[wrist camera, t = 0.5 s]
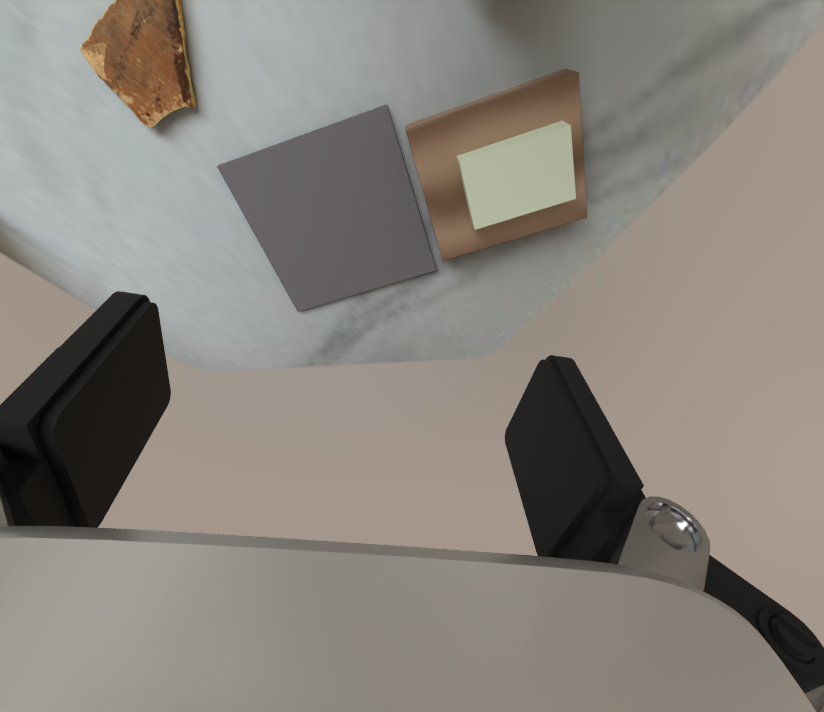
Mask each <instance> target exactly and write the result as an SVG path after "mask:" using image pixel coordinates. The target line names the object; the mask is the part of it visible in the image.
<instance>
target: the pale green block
mask: <svg viewBox="0 0 824 712" xmlns="http://www.w3.org/2000/svg"><path fill="white" fill-rule="evenodd" d="M456 157H457V161H458V166H459V170H460V174H461V179H462V183H463V188H464V192H465V196H466V201H467V205H468V209H469V214H470V218H471V222H472V225H473V227H474V229H475V230H476V229H479V228H483V227H486V226H489V225H492V224H496V223H499V222H502V221H505V220H509V219H512V218H515V217H518V216H522V215H525V214H528V213H531V212H535V211H538V210H541V209H544V208H548V207H551V206H554V205H557V204H561V203H564V202H567V201H570V200H573V199H576V191H575V177H574V163H573V150H572V136H571V125H569V124H568V123H566V122H564V121H563V120H562V121H560V122H557V123H554V124H551V125H548V126H545V127H542V128H539V129H536V130H533V131H530V132H527V133H524V134H521V135H518V136H515V137H512V138H509V139H506V140H503V141H500V142H497V143H494V144H491V145H488V146H485V147H482V148H479V149H476V150H473V151H470V152H467V153H464V154H461V155H458V156H456Z"/></svg>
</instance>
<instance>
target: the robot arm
mask: <svg viewBox="0 0 824 712" xmlns="http://www.w3.org/2000/svg"><path fill="white" fill-rule="evenodd" d="M170 394H171V391H170V383H169V378H168V371H167V365H166V358H165V351H164V345H163V338H162V332H161V325H160V319H159V312H158V307H157V305H156V304H155V303H151V302H150V301H149V298H148V297H147V296H146V295H140V294H133V293H127V292H120V291H118V292H115V293H114V294H112V295H111V296H110V297H109V298H108V299H107V300H106V301H105V302H104V303H103V304H102V305H101V306H100V307H99V308H98V309H97V310H96V311H95V312H94V313H93V314H92V315H91V317H89V318H88V319H87V321H85V323H83V325H81V326H80V327H79V328H78V329H77V330H76V331H75V332H74V334H72V335H71V336H70V337H69V338H68V339H67V340H66V341H65V342H64V343H63V344H62V346H60V347H59V348H57V349H56V350H55V351H54V352H53V353H52V354H51V355H50V356H49V357H48V358H47V359H46V360H45V361H44V362H43V363H42V364H41V365H40V366H39V367H38V368H37V369H36V370H35V371H34V372H33V373H32V374H31V375H30V376H29V377H28V378H27V379H26V380H25V381H24V382H23V383H22V384H21V385H20V386H19V387H18V388H17V389H16V390H15V391H14V392H13V393H12V394H11V395H10V396H9V397H8V398H7V399H6V400H5V401H4V402H3V403H2V404H1V405H0V712H824V647H823V646H822V645H821V643H820V642H819V640H818V639H817V638H816V636H815V635H814V634H813V633H812V631H810V629H809V628H808V627H807V626H806V625H805V624H804V623H803V622H802V621H800V619H798V618H797V617H796V616H795V615H793V614H792V613H791V612H790V611H788V610H786V609H785V608H784V607H782V606H781V605H780V604H778V603H777V602H775V601H774V600H773V599H771V598H770V597H768V596H767V595H765V594H764V593H763V592H761V591H760V590H758V589H757V588H755V587H754V586H753V585H751V584H750V583H748V582H747V581H746V580H744V579H743V578H741V577H740V576H738V575H737V574H736V573H734V572H733V571H732V570H730V569H729V568H727V567H726V566H725V565H723V564H722V563H720V562H719V561H717V560H716V559H715V558H713V557H712V556H710V555H709V554H710V541H709V539H708V536H707V534H706V532H705V530H704V529H703V527H702V526H701V524H700V523H699V522H698V520H697V519H695V517H693V515H692V514H690V513H689V512H688V511H687V510H686V509H684V508H683V507H681V506H680V505H678V504H677V503H674V502H673V501H671V500H668V499H665V498H661V497H648V498H646V497H645V496H644V494H643V492H642V490H641V489H642V488H643V486H644V485H643V483H642V481H641V480H640V478H639V476H638V474H637V473H636V471H635V469H634V467H633V465H632V464H631V462H630V460H629V458H628V456H627V455H626V453H625V451H624V449H623V447H622V446H621V444H620V442H619V440H618V439H617V437H616V435H615V433H614V431H613V430H612V428H611V426H610V424H609V422H608V421H607V419H606V417H605V415H604V413H603V412H602V410H601V408H600V407H599V404H598V403H597V401H596V399H595V397H594V396H593V394H592V392H591V390H590V388H589V387H588V385H587V383H586V381H585V379H584V378H583V376H582V374H581V372H580V370H579V369H578V367H577V365H576V363H575V361H574V360H573V359H571V358H566V357H560V356H553V355H550V356H549V357H547V358H546V360H541V361H540V362H539V364H538V365H537V367H536V369H535V371H534V373H533V376H532V378H531V380H530V382H529V384H528V386H527V388H526V390H525V392H524V394H523V396H522V398H521V400H520V402H519V404H518V406H517V409H516V411H515V413H514V415H513V417H512V419H511V421H510V423H509V425H508V427H507V429H506V433H505V444H506V447H507V451H508V454H509V458H510V461H511V465H512V468H513V472H514V475H515V478H516V482H517V486H518V489H519V492H520V496H521V499H522V503H523V507H524V510H525V514H526V517H527V520H528V524H529V528H530V531H531V535H532V538H533V541H534V545H535V549H536V552H537V555H538V556H530V555H516V554H502V553H489V552H475V551H461V550H448V549H434V548H420V547H405V546H390V545H389V546H388V545H375V544H361V543H346V542H330V541H315V540H300V539H284V538H268V537H253V536H235V535H220V534H204V533H188V532H171V531H154V530H134V529H133V530H132V529H112V528H97V527H98V526H99V525H100V524H101V522H102V520H103V519H104V517H105V515H106V513H107V512H108V510H109V508H110V506H111V504H112V503H113V501H114V499H115V497H116V496H117V494H118V492H119V490H120V489H121V487H122V485H123V483H124V482H125V480H126V478H127V476H128V475H129V473H130V471H131V469H132V468H133V466H134V464H135V462H136V460H137V459H138V457H139V455H140V453H141V452H142V450H143V448H144V446H145V445H146V443H147V441H148V439H149V438H150V436H151V434H152V432H153V430H154V429H155V427H156V425H157V423H158V422H159V420H160V418H161V416H162V415H163V413H164V411H165V409H166V408H167V406H168V404H169V400H170Z"/></svg>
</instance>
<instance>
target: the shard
mask: <svg viewBox="0 0 824 712" xmlns="http://www.w3.org/2000/svg"><path fill="white" fill-rule="evenodd" d="M81 54H82V55H83V57H84V58H85V60H86V61H87V62H88V63H89V64H90V66H91V67H92V68H93V69H94V71H95V72H96V74H97V75H98V76H99V77H100V78H101V79H102V80H103V81H104V82H105V83H106V84H107V85H108V86H109V87H110V88H111V90H113V91H114V92H115V93H116V94H117V95H118V96H119V97H120V98H121V99H122V100H123V102H124V103H125V104H126V105H127V106H128V107H129V108H130V109H131V110H132V111H133V112H134V113H135V115H136V116H137V117H138V118H139V119H140V121H141V122H142V123H143V124H145V125H146V126H148V127H150V128H152V127H154V126H155V125H156V124H157V123H158V122H159V121H160V120H162V119H163V118H164V117H166V116H167V115H168V114H170V113H171V112H173V111H176V110H178V109H181V108H183V107H190V108H194V107H196V103H195V96H194V92H193V89H192V84H191V77H190V67H189V64H188V60H187V56H186V46H185V29H184V22H183V13H182V7H181V0H116V1H115V2H114V3H113V4H111V5H110V6H109V8H108V9H107V10H106V11H105V13H104V15H103V16H102V18H100V19H99V20H98V21H97V23H96V25H95V26H94V27H93V29H92V30H91V35H90V37H89V38H88V39H87V40H86V41H85V42H84V43H83V44H82V46H81Z"/></svg>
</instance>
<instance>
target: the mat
mask: <svg viewBox="0 0 824 712" xmlns="http://www.w3.org/2000/svg"><path fill="white" fill-rule="evenodd" d="M218 169H219V171H220V173H221V174H222V176H223V178H224V180H225V182H226V183H227V185H228V187H229V189H230V191H231V192H232V194H233V196H234V198H235V200H236V201H237V203H238V205H239V207H240V209H241V210H242V212H243V214H244V216H245V218H246V219H247V221H248V223H249V225H250V227H251V228H252V230H253V232H254V234H255V236H256V237H257V239H258V241H259V243H260V245H261V246H262V248H263V250H264V252H265V254H266V255H267V257H268V259H269V261H270V263H271V264H272V266H273V268H274V270H275V272H276V273H277V275H278V277H279V279H280V281H281V282H282V284H283V286H284V288H285V290H286V291H287V293H288V295H289V297H290V299H291V301H292V302H293V304H294V306H295V308H296V310H297V311H301V310H305V309H308V308H311V307H315V306H318V305H321V304H325V303H328V302H332V301H335V300H338V299H342V298H345V297H348V296H352V295H355V294H358V293H362V292H365V291H368V290H372V289H375V288H378V287H382V286H385V285H388V284H392V283H395V282H398V281H402V280H405V279H409V278H412V277H415V276H419V275H422V274H425V273H429V272H432V271H435V270H436V266H435V263H434V260H433V256H432V253H431V250H430V246H429V243H428V240H427V236H426V233H425V230H424V226H423V223H422V220H421V216H420V213H419V210H418V206H417V203H416V200H415V196H414V193H413V190H412V186H411V183H410V180H409V176H408V173H407V170H406V166H405V163H404V160H403V156H402V153H401V150H400V146H399V143H398V140H397V136H396V133H395V130H394V126H393V123H392V120H391V116H390V113H389V110H388V106H387V105H384V106H382V107H379V108H376V109H373V110H370V111H368V112H365V113H362V114H359V115H357V116H354V117H351V118H348V119H346V120H343V121H340V122H337V123H334V124H332V125H329V126H326V127H323V128H321V129H318V130H315V131H312V132H310V133H307V134H304V135H301V136H298V137H296V138H293V139H290V140H287V141H285V142H282V143H279V144H276V145H274V146H271V147H268V148H265V149H263V150H260V151H257V152H254V153H251V154H249V155H246V156H243V157H240V158H238V159H235V160H232V161H229V162H227V163H224V164H221V165H219V166H218Z"/></svg>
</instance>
